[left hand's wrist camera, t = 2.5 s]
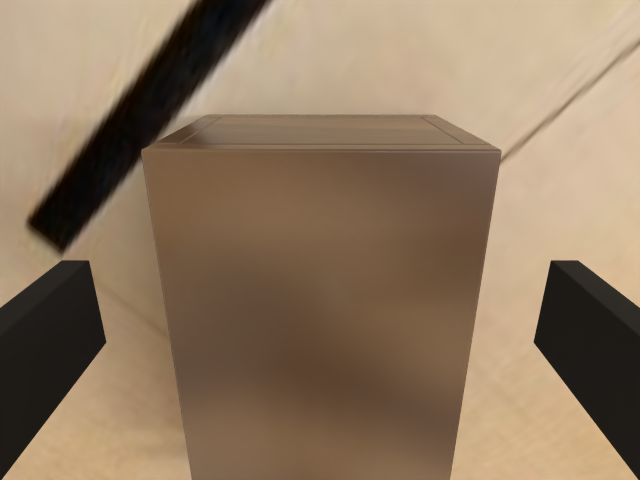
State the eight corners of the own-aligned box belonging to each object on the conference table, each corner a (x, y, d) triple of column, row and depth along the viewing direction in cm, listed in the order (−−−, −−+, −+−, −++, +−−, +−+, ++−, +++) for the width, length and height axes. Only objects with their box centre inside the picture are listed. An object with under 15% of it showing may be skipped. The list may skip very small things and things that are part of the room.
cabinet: (406, 419, 29) (438, 557, 21) (235, 419, 29) (202, 556, 21) (436, 114, 22) (502, 149, 14) (206, 114, 22) (139, 149, 14)
